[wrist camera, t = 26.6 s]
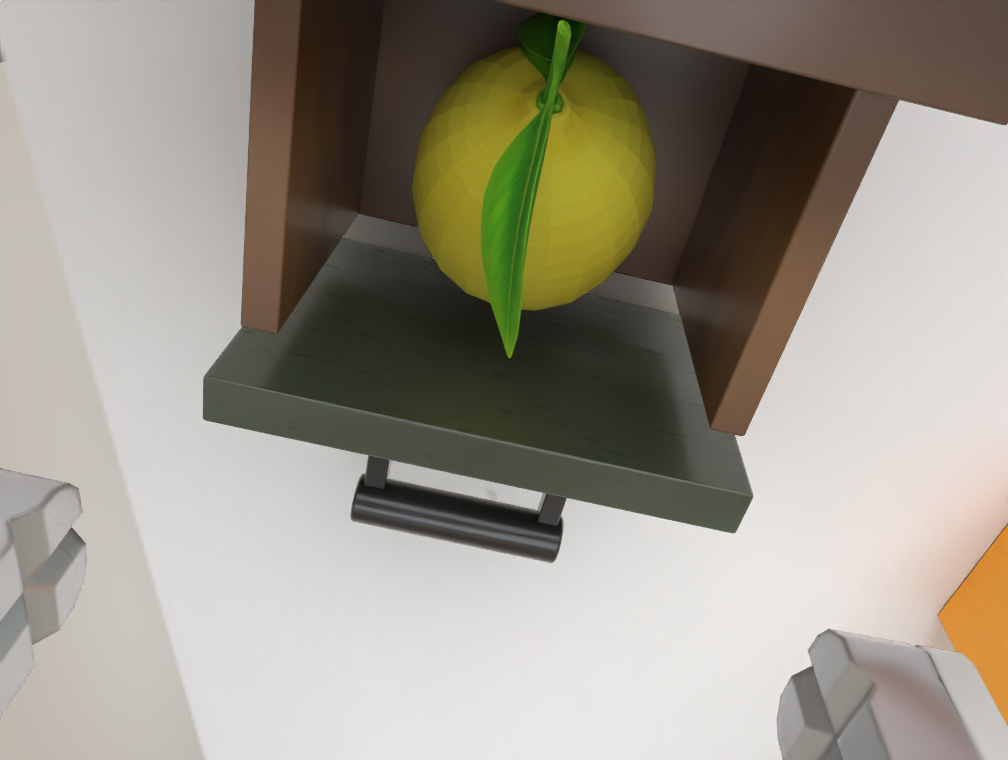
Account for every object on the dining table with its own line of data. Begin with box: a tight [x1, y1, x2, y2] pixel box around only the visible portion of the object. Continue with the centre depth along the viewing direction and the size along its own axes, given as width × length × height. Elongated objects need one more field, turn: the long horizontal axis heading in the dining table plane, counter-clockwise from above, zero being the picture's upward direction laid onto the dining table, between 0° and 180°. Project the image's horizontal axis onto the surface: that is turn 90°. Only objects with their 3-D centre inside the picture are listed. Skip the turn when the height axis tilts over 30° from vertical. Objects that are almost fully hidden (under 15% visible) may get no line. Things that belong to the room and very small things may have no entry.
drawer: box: [203, 0, 899, 563], centre depth 19 cm, size 19×12×9 cm, turn 168°
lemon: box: [412, 12, 656, 358], centre depth 17 cm, size 7×6×10 cm
